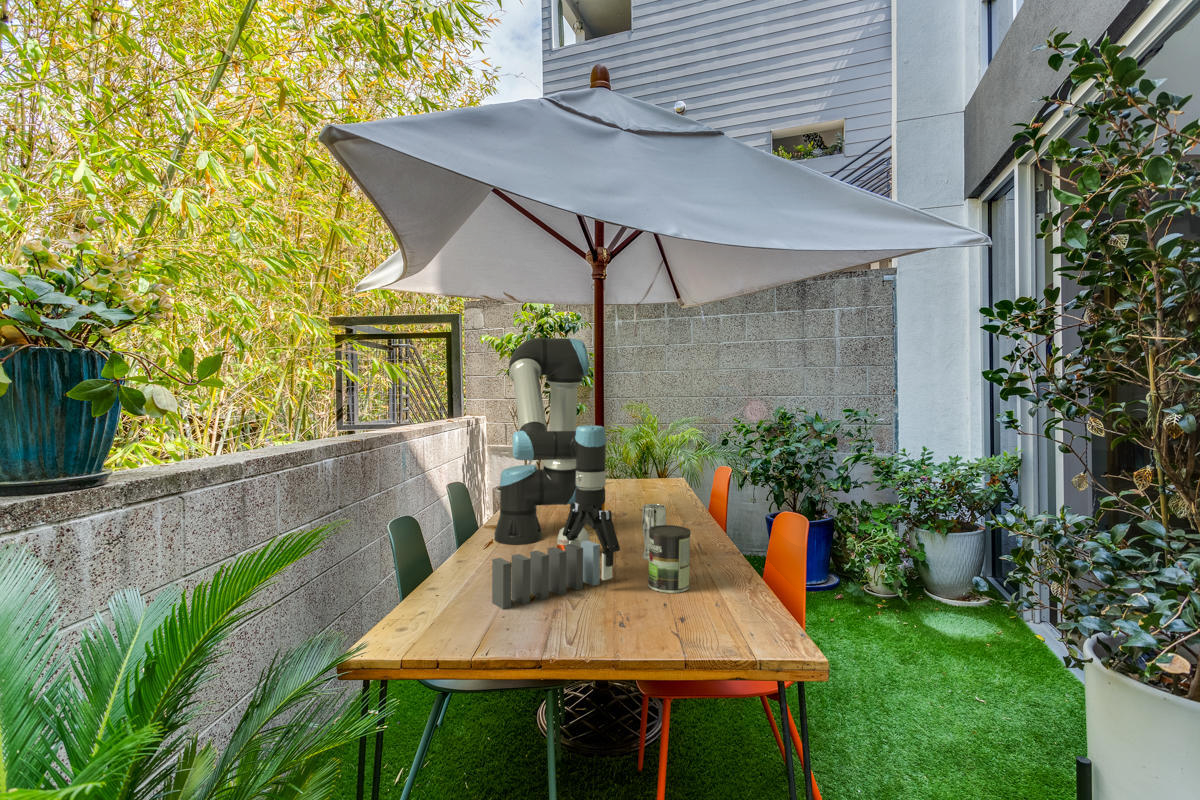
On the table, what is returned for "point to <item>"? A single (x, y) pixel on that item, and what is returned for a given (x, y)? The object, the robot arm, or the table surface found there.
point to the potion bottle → (563, 540)
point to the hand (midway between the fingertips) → (589, 572)
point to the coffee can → (669, 558)
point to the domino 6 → (591, 562)
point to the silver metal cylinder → (651, 522)
